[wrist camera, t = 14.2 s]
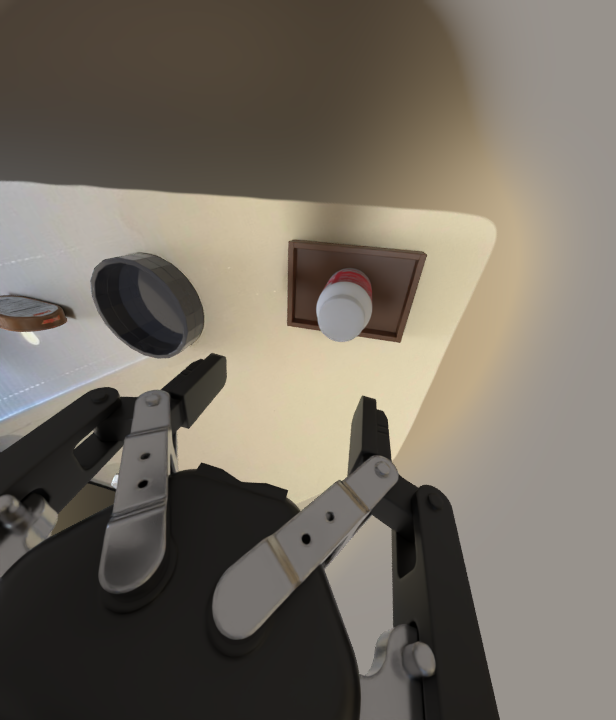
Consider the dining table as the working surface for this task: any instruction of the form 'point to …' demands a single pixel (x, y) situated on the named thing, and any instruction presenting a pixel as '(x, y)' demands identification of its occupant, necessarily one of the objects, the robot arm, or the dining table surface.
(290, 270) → the tray
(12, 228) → the dining table surface
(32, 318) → the tin
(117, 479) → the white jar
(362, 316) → the pill bottle
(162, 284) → the bowl
